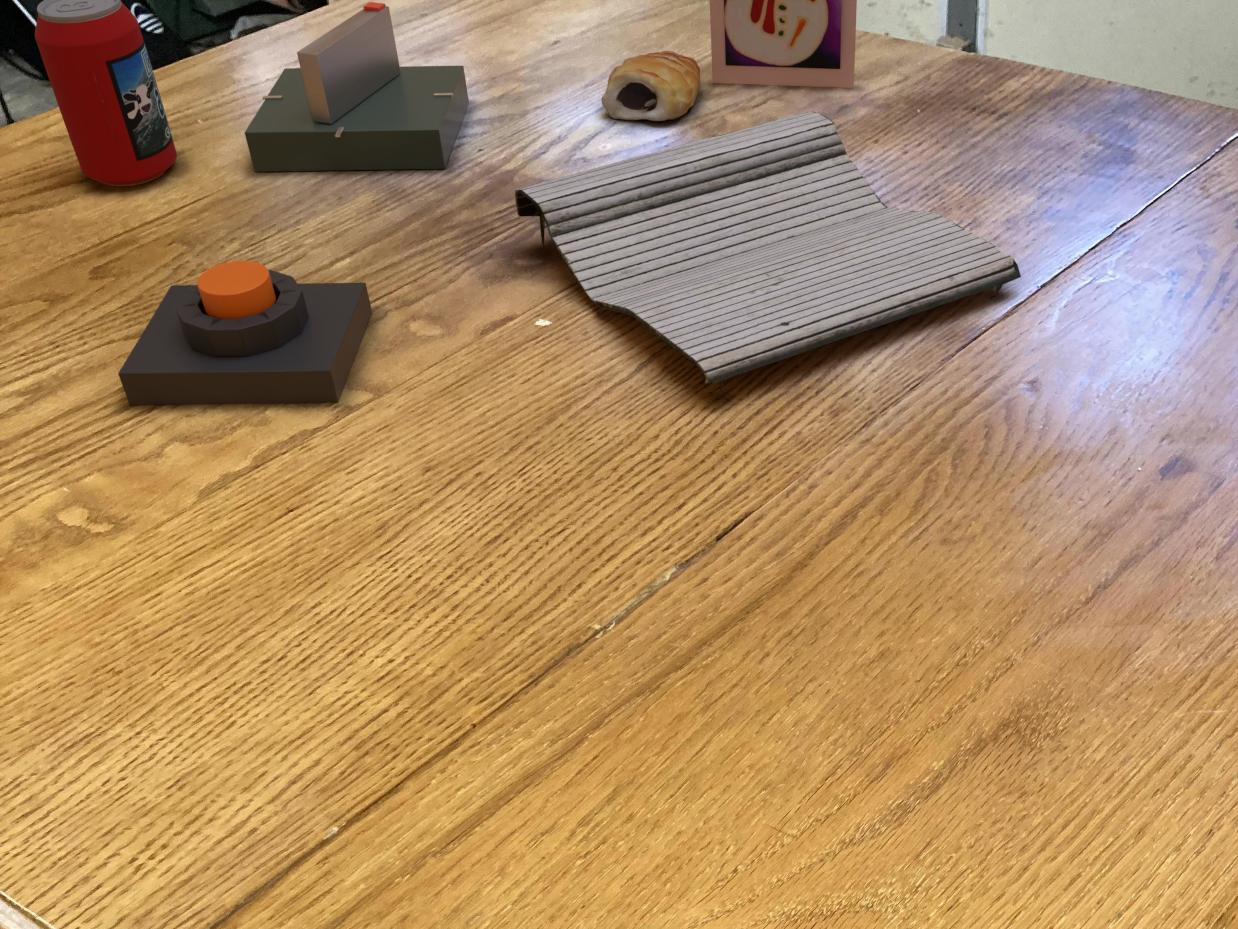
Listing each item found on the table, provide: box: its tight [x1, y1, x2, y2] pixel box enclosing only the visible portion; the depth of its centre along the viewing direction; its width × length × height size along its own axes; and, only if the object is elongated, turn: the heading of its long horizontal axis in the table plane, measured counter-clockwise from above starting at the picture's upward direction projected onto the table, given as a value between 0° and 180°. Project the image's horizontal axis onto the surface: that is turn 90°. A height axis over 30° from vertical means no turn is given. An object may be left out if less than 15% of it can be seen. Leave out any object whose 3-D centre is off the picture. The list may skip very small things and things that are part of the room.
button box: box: [117, 269, 373, 406], centre depth 84 cm, size 12×10×4 cm
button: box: [196, 260, 276, 319], centre depth 82 cm, size 4×4×2 cm
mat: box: [514, 111, 1022, 398], centre depth 91 cm, size 23×24×5 cm
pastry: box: [600, 50, 701, 122], centre depth 111 cm, size 9×7×4 cm
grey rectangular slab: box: [296, 1, 401, 124], centre depth 105 cm, size 10×2×5 cm, turn 160°
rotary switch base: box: [244, 65, 470, 173], centre depth 107 cm, size 14×14×3 cm
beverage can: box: [34, 0, 178, 187], centre depth 100 cm, size 7×7×12 cm
